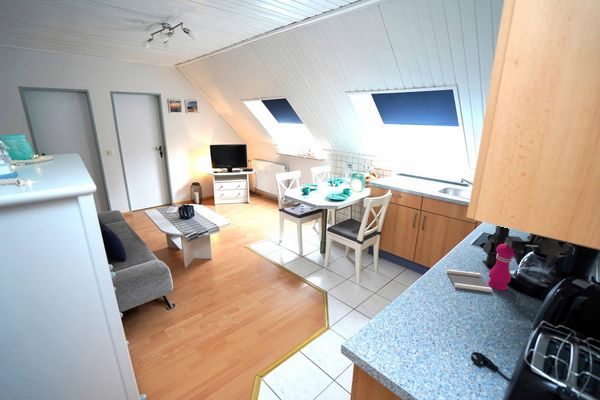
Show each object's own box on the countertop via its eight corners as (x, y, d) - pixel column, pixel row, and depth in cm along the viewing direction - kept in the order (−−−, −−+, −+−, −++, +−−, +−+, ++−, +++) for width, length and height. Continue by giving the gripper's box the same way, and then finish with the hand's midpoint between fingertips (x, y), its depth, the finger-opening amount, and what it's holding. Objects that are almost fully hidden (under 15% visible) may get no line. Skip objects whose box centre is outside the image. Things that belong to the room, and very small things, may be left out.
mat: (446, 273, 122) (447, 269, 121) (479, 277, 119) (480, 273, 119) (454, 288, 111) (455, 284, 110) (491, 293, 108) (492, 289, 107)
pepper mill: (512, 290, 110) (524, 244, 105) (498, 292, 108) (509, 245, 103) (496, 280, 117) (506, 236, 111) (482, 282, 115) (492, 238, 110)
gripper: (525, 232, 91) (513, 274, 96) (593, 239, 87) (578, 282, 92) (509, 221, 102) (499, 258, 106) (569, 226, 97) (557, 265, 102)
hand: (532, 266), depth 101 cm, fingers open, 9 cm apart
